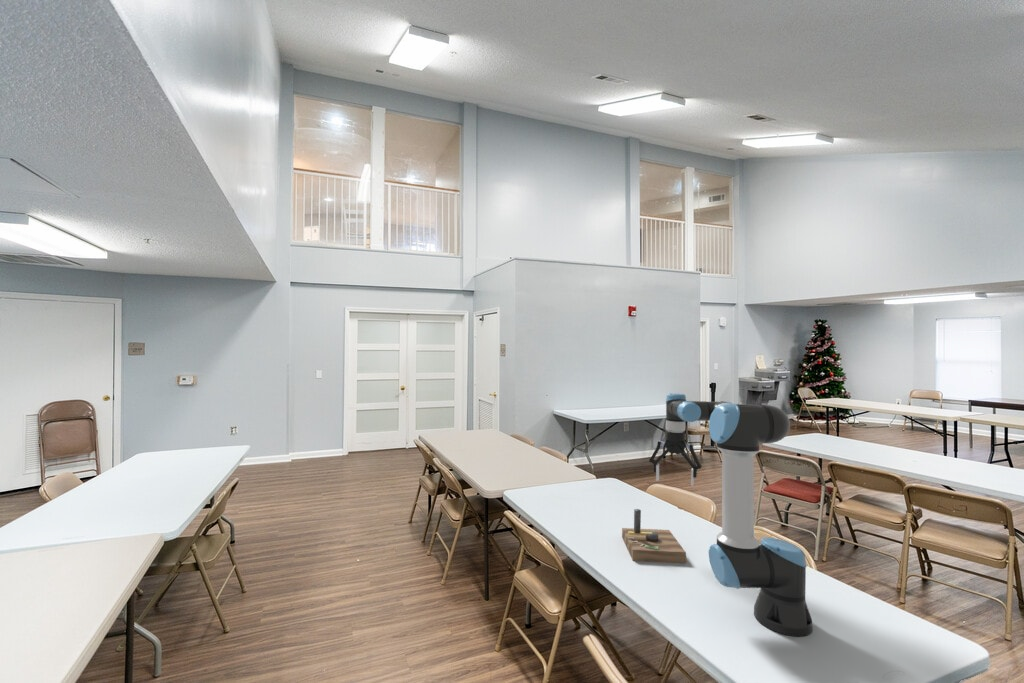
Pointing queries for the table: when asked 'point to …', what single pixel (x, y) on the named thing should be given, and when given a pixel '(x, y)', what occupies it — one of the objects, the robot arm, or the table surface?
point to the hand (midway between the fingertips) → (674, 482)
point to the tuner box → (654, 546)
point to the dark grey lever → (637, 528)
